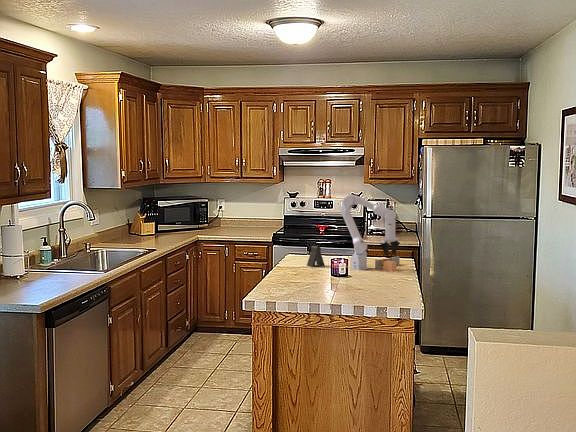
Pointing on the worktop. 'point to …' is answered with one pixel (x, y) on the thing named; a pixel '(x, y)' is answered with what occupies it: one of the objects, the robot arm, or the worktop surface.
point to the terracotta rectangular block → (389, 265)
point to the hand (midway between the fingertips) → (389, 254)
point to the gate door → (383, 261)
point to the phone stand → (315, 257)
